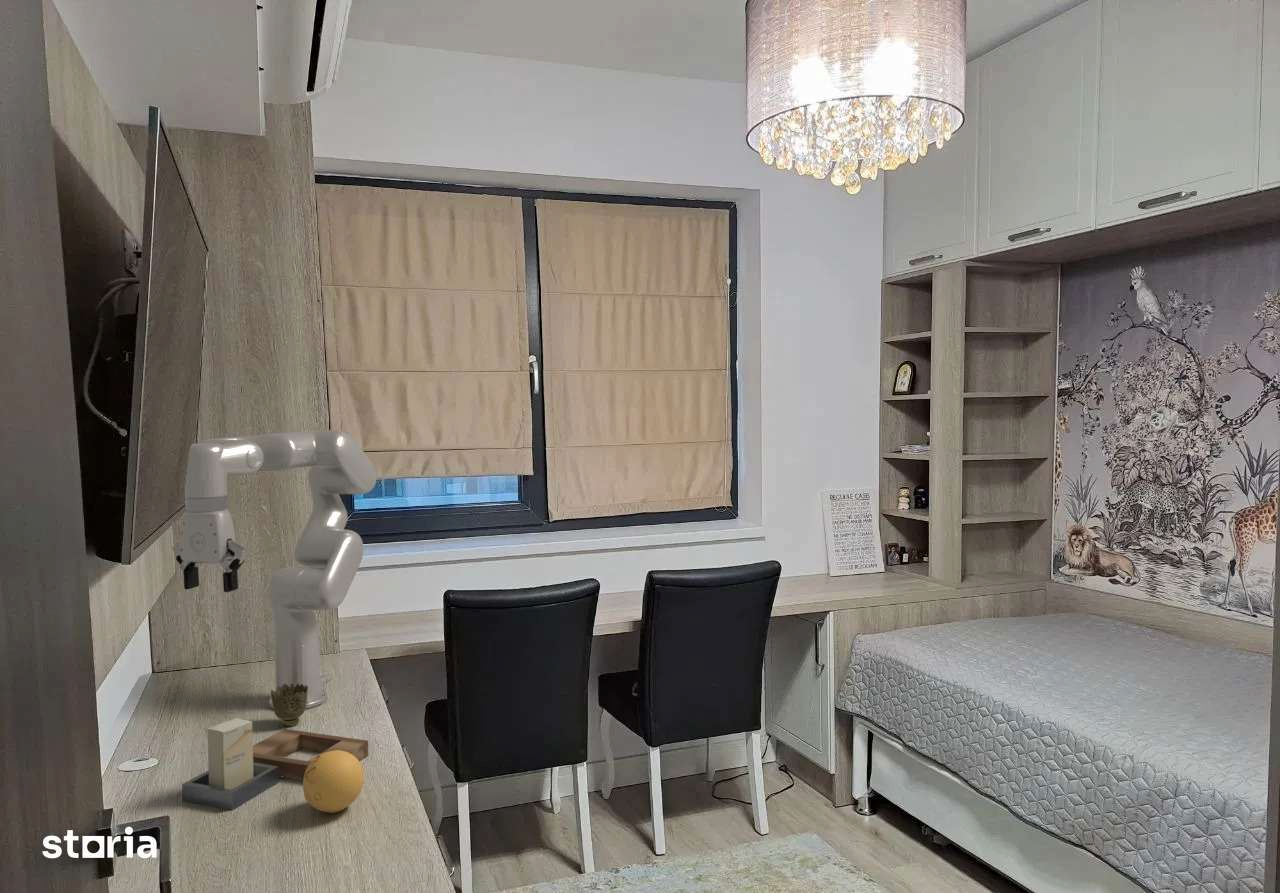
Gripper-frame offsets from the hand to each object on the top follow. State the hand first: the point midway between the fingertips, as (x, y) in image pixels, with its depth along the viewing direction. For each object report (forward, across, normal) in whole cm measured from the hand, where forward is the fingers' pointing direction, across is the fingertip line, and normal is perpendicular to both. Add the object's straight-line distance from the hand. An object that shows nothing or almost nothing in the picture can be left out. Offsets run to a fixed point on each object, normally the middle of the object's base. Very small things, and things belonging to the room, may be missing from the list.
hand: (211, 589), depth 169 cm
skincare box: (+32, +18, -16) cm, 40 cm away
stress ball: (+32, +40, -17) cm, 54 cm away
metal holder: (+32, +18, -16) cm, 40 cm away
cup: (+33, +7, +13) cm, 36 cm away
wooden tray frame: (+32, +22, -2) cm, 39 cm away
